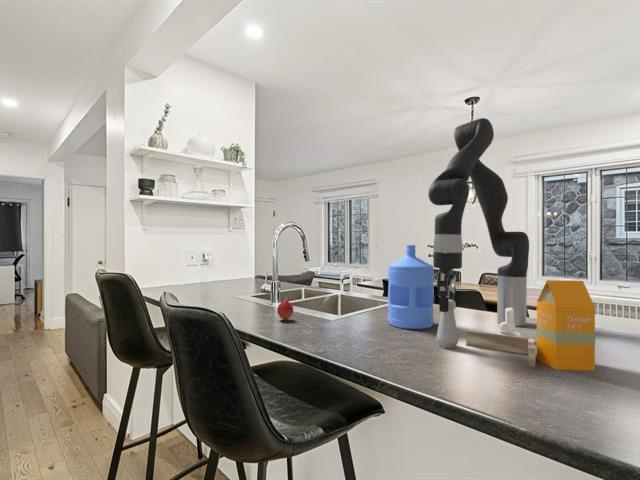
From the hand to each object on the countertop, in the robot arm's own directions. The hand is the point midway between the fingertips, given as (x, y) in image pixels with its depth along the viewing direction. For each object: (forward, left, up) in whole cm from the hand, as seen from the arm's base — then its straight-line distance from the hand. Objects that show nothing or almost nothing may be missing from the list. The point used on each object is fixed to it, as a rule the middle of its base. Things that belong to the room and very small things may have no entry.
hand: (446, 309), depth 97 cm
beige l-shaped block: (+1, +13, -10) cm, 17 cm away
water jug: (-21, -16, -11) cm, 28 cm away
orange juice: (0, +27, -11) cm, 29 cm away
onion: (-3, -57, -11) cm, 58 cm away
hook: (-19, +15, -11) cm, 27 cm away
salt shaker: (0, 0, -11) cm, 11 cm away
